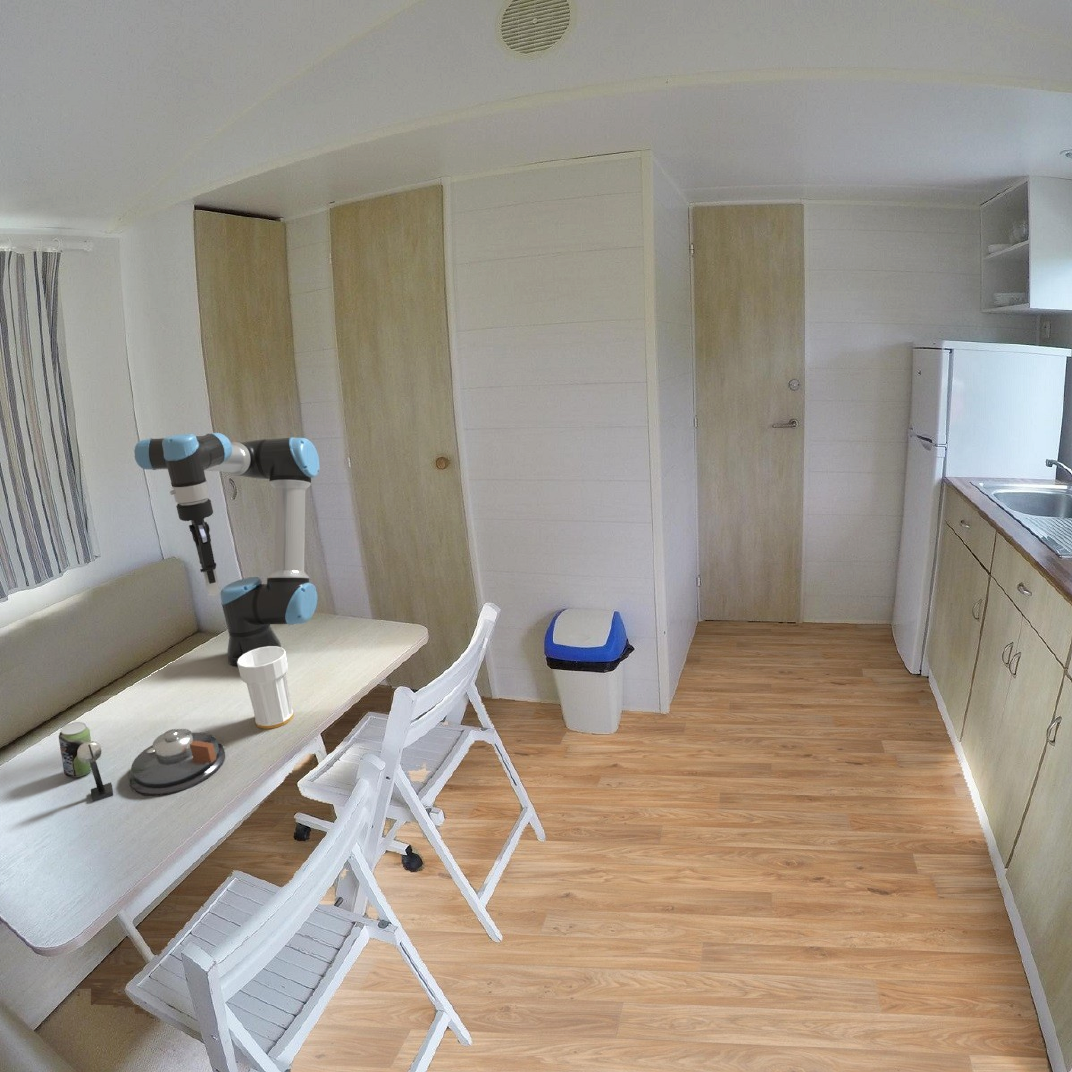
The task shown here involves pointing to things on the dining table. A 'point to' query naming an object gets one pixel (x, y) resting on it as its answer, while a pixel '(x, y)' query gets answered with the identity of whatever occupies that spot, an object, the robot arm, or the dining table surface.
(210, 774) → the turntable base
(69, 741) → the beverage can
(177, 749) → the cover
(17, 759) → the dining table surface
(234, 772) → the dining table surface
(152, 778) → the turntable
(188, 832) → the dining table surface
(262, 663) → the cup
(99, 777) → the dial stand
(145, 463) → the robot arm
